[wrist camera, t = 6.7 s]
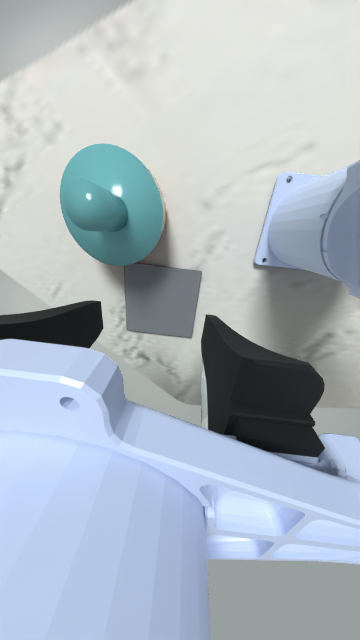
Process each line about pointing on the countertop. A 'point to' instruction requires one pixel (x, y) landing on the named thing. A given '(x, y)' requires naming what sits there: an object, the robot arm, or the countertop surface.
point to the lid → (111, 204)
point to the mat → (161, 299)
